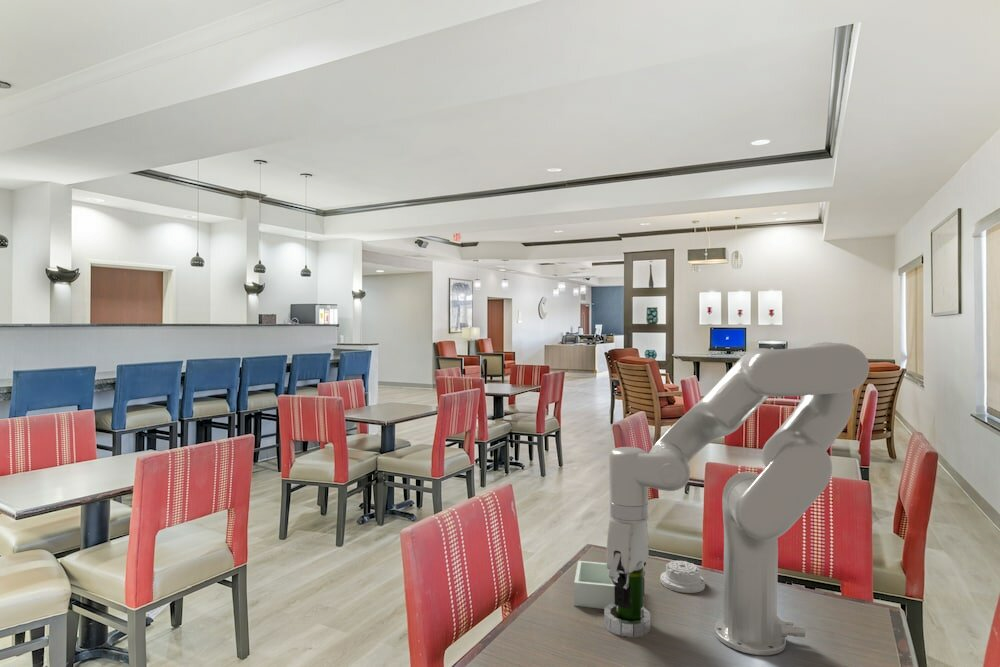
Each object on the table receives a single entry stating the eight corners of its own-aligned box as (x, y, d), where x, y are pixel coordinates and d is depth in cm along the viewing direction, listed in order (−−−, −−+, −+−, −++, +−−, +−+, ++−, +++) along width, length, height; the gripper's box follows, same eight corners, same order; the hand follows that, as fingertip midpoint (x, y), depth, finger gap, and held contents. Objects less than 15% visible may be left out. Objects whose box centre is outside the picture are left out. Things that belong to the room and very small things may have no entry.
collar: (649, 616, 120) (649, 604, 120) (651, 639, 112) (651, 626, 112) (604, 612, 122) (604, 600, 122) (603, 634, 113) (603, 621, 113)
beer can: (644, 615, 119) (643, 556, 119) (643, 628, 113) (643, 566, 113) (617, 612, 120) (616, 553, 120) (615, 625, 115) (614, 564, 115)
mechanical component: (661, 592, 132) (708, 596, 130) (661, 572, 132) (708, 576, 130) (659, 574, 142) (702, 577, 140) (659, 556, 142) (702, 559, 140)
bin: (630, 586, 134) (630, 565, 134) (631, 611, 123) (631, 587, 122) (578, 581, 137) (578, 560, 137) (574, 605, 125) (574, 582, 125)
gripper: (631, 497, 126) (631, 581, 126) (590, 517, 112) (591, 611, 112) (664, 503, 121) (665, 590, 121) (626, 525, 108) (627, 623, 108)
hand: (629, 600), depth 117 cm, fingers closed on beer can, 5 cm apart
